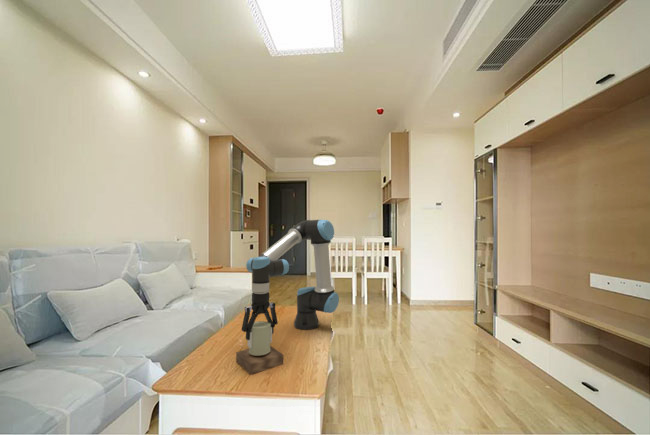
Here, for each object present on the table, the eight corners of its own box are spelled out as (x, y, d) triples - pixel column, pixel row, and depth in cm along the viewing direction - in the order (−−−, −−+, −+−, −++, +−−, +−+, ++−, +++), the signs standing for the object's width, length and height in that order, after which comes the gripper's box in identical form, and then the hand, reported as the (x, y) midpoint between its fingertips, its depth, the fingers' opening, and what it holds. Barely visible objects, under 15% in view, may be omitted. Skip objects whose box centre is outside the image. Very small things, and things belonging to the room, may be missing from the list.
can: (265, 356, 117) (265, 327, 117) (245, 354, 118) (245, 325, 119) (273, 347, 126) (274, 320, 126) (254, 346, 128) (255, 319, 128)
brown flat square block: (266, 352, 132) (267, 343, 133) (283, 363, 121) (283, 354, 121) (236, 361, 123) (236, 351, 123) (250, 374, 111) (250, 364, 111)
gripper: (277, 287, 133) (277, 336, 132) (233, 294, 120) (232, 347, 118) (286, 290, 127) (285, 340, 126) (240, 297, 114) (239, 353, 113)
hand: (259, 344), depth 122 cm, fingers closed on can, 9 cm apart
